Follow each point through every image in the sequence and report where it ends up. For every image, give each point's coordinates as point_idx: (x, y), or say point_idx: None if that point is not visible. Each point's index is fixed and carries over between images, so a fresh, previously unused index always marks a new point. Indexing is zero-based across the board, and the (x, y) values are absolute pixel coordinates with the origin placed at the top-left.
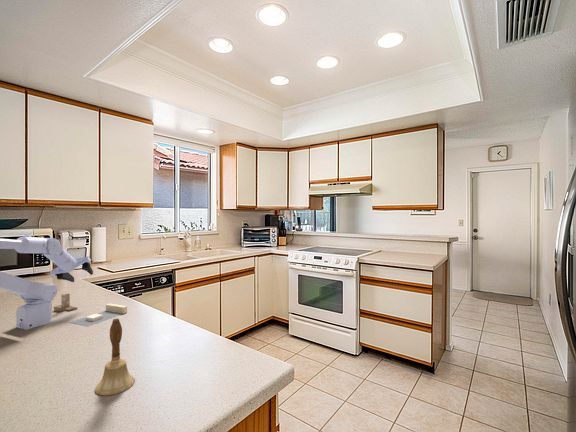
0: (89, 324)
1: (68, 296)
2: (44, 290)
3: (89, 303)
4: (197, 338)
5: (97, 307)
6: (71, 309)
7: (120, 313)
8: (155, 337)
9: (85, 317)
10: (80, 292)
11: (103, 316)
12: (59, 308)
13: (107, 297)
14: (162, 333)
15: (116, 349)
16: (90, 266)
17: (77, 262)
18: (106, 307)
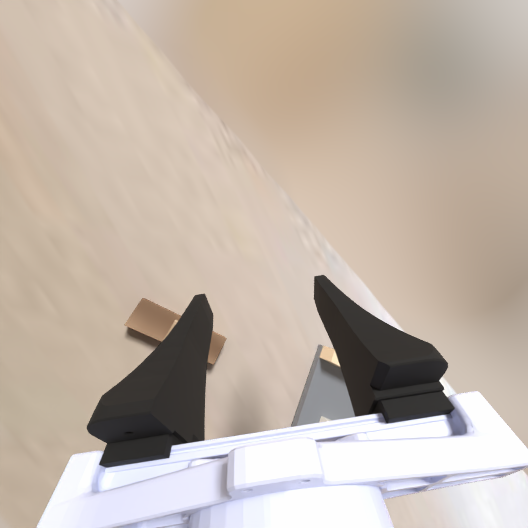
0: None
1: None
2: None
3: (216, 246)
4: (521, 503)
5: (265, 296)
6: (216, 358)
7: None
8: (473, 515)
9: (297, 425)
10: (97, 77)
11: (339, 412)
12: (158, 339)
13: (242, 186)
14: (474, 490)
15: None
16: (349, 299)
17: (383, 489)
18: (328, 360)
